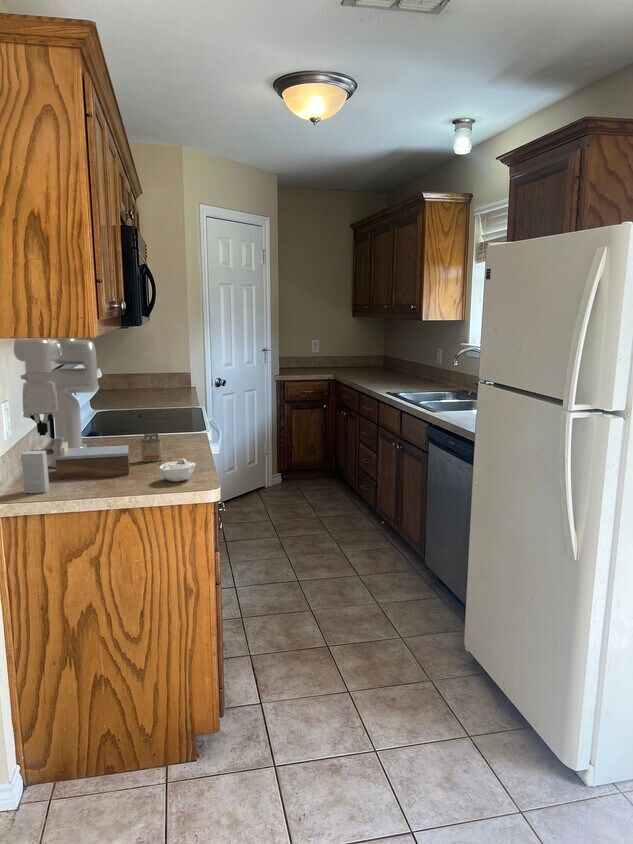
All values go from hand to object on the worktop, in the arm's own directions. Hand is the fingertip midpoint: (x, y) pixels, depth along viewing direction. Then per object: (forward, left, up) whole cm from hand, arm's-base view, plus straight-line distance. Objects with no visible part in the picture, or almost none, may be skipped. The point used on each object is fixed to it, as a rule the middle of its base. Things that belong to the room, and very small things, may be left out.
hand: (43, 434), depth 200 cm
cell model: (+17, +41, -14) cm, 47 cm away
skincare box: (+19, 0, -14) cm, 24 cm away
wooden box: (-1, +15, -14) cm, 20 cm away
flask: (-13, +3, -14) cm, 19 cm away
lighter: (-13, +34, -14) cm, 39 cm away
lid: (-1, +15, -7) cm, 17 cm away
